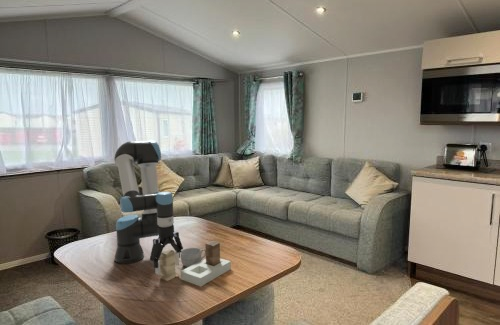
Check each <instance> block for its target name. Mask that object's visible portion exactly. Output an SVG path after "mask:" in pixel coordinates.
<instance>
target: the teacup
mask: <svg viewBox="0 0 500 325" xmlns="http://www.w3.org/2000/svg"><path fill="white" fill-rule="evenodd" d="M203 252H204V254H203ZM202 254H203V255H202ZM205 258H206V248H202V249H201V248H199V247H188V248H183V249H182V250H181V252H180V260H181V261H180V262H181V264H182V265H183V266H184V267H185V268H188V267H190V266H192V265H194V264H196V263H198V262H200V261H202V260H204V259H205Z"/></svg>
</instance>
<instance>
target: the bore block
mask: <svg viewBox="0 0 500 325" xmlns="http://www.w3.org/2000/svg"><path fill="white" fill-rule="evenodd" d="M230 270H232V261H231V260H228V259H224V258H221V257H220V263H219V264H217V265H215V266H211V265H208V264H206V258H203V259H202V260H201V261H200V262H198V263H196V264H194V265H192V266H190V267H185V268H184V269H182V270H180V272H179V273H180V280H181V281H184V282H187V283H189V284H192V285H196V286H198V287H203V286H204V285H206V284H207V283H210V282H211V281H213V280H215V279H216V278H218V277H219V276H222V275H224V274H225V273H227V272H228V271H230Z"/></svg>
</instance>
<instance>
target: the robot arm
mask: <svg viewBox="0 0 500 325" xmlns="http://www.w3.org/2000/svg"><path fill="white" fill-rule="evenodd" d="M161 160H162V153H161V148H160V145H159V143H158V142H157V141H156V140H138V141H136V140H135V141H126V142H124V143H122V144H121V145H120V146H119V147H118V148H117V150H116V151H115V153H114V163H115V166H116V167H117V170H118V175H119V180H120V185H121V191H122V195H123V196H121V197H120V199H119V205H120V211H121V212H122V213H132V212H141V211H142V212H141V216H139V215H138V214H128V215H124V216H121V217H120V218H118V219H116V223H115V230H116V243H117V245H116V250H115V254H114V262H115V261H116V262H115V263H117V262H118V264H121V263H127V264H132V263H136V262H139V261H141V260H142V259H144V257H145V254H144V252H145V251H144V250H143V247H142V246H141V240H140V239H145V238H151V237H158V238H153V240H152V247H151V251H150V252H151V253H150V255H149V256H150V257H149V261H150V262H153V268H154V270H155V271H154V272H155V274H156V275H158V276H159V275H160V274H161V272H160V255H161V253H162V251H163V250H164V248H165V247H166V246H167V245H170V246H172V249H174V250H173V251H175V266H178V267H179V266H180V259H181V254H180V252H181V251H182V250H184V246H183V244H182V242H181V239H180V233H179V231H176V230H175V224H174V223H175V221H174V198H173V193H172V192H171V191H159V184H158V172H157V166H158V165H159V163H160V162H159V161H161ZM134 163H137V164H136V165H137V166H138V167H139V169H140V176H141V186H142V187H141V188H142V189H141V190H142V194H140V189H139V185H138V182H137V177H136V172H135V169H134Z"/></svg>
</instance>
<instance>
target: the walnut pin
mask: <svg viewBox="0 0 500 325" xmlns="http://www.w3.org/2000/svg"><path fill="white" fill-rule="evenodd" d="M204 244H205V249H206V256H205V259H206V264H208V265H211V266H215V265H217V264H219V263H220V258H221V244H220V242H219V241H214V240H211V241H208V242H207V243H204Z"/></svg>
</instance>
